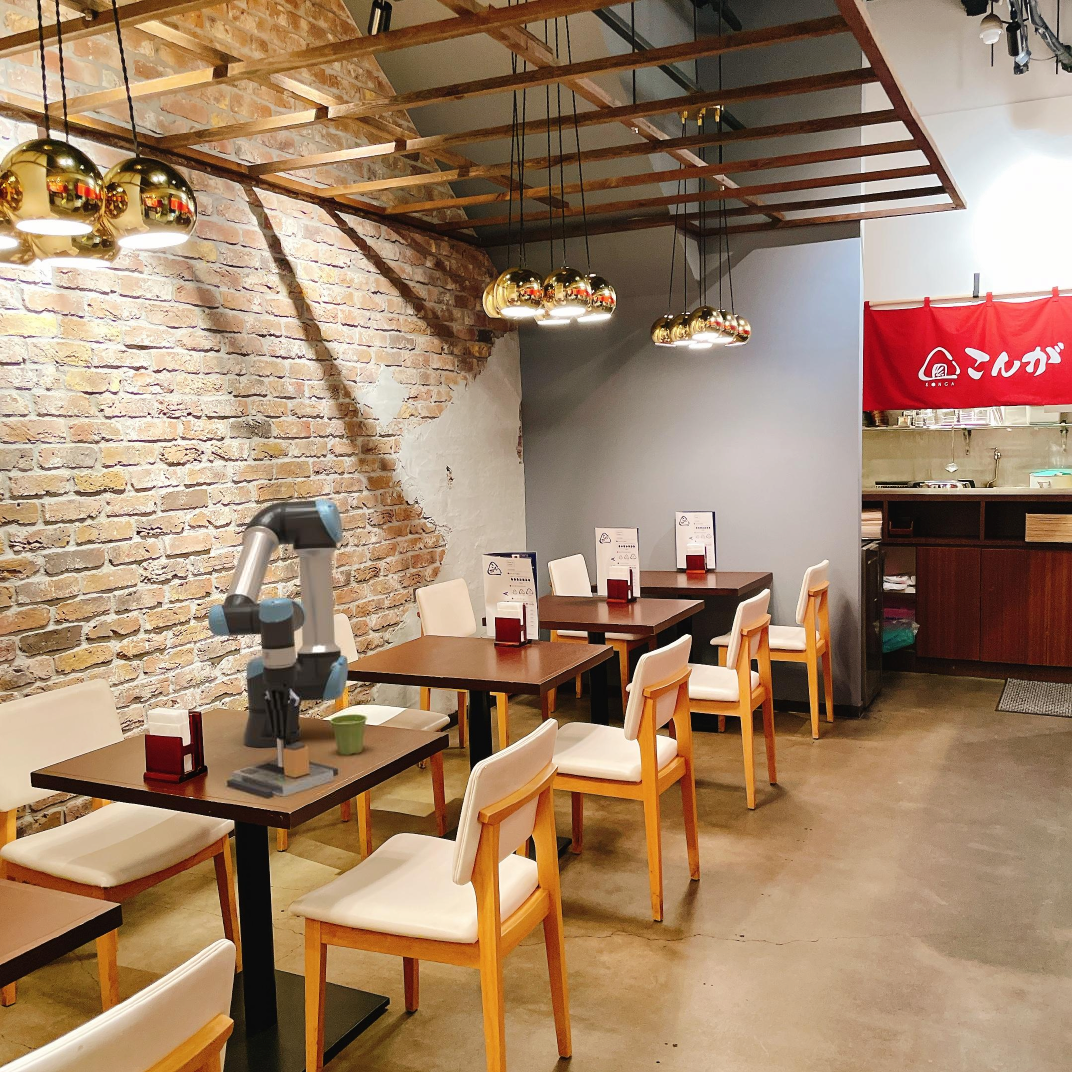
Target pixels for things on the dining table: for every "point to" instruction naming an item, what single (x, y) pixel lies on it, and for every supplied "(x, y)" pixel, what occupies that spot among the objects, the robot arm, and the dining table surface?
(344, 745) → the plant pot
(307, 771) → the tan rectangular block
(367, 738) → the dining table surface
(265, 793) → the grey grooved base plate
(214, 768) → the dining table surface
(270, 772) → the panel
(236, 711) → the dining table surface
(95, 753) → the dining table surface
